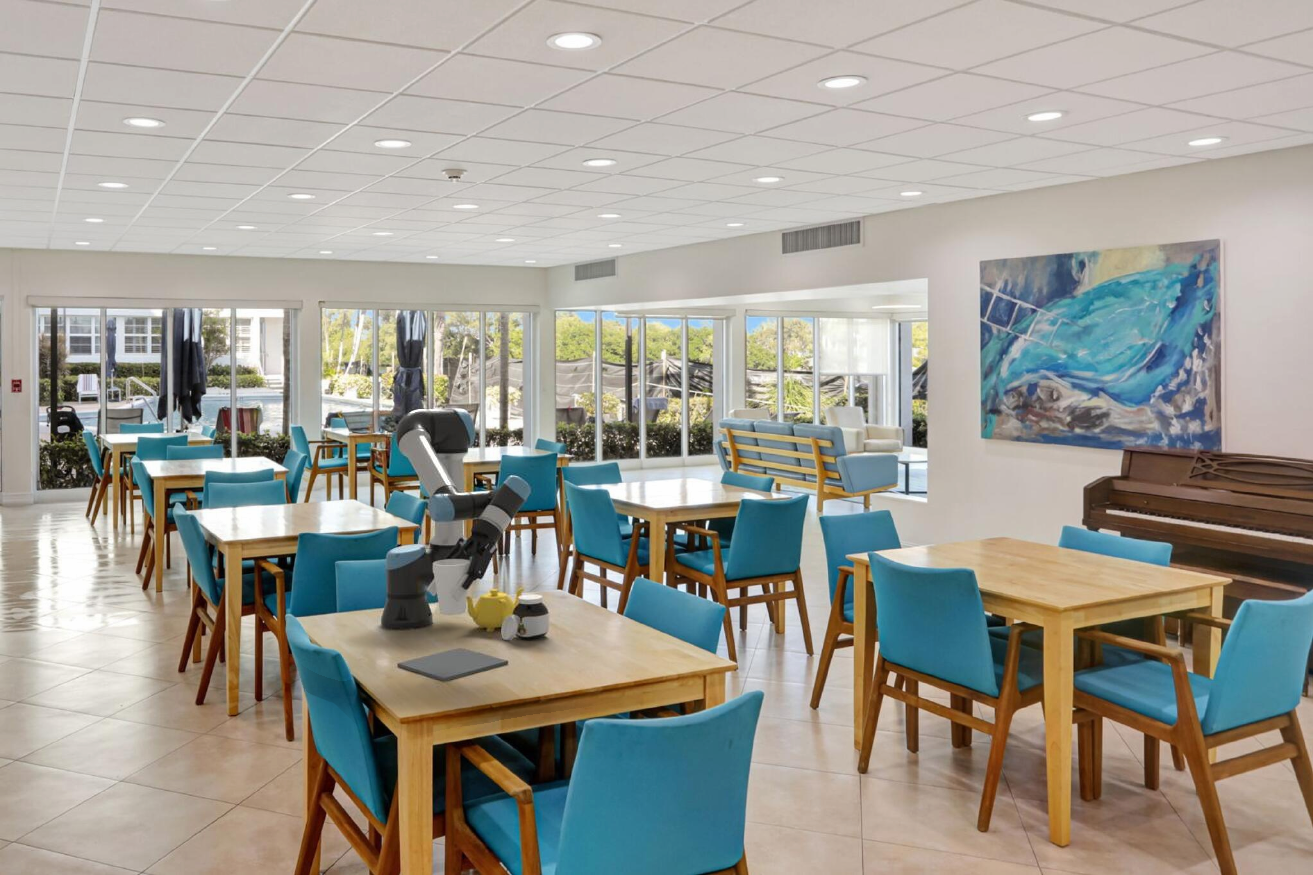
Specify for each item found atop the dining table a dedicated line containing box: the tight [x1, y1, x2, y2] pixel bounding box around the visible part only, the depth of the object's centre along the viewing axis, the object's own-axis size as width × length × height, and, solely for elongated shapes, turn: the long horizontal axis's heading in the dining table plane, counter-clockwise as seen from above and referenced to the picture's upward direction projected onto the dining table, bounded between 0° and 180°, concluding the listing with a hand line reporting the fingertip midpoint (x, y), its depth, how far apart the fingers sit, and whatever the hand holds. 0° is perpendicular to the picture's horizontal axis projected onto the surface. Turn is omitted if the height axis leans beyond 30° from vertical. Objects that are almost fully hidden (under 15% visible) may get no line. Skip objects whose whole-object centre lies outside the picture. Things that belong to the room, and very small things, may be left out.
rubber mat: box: [397, 647, 509, 682], centre depth 264 cm, size 20×20×1 cm
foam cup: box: [433, 559, 470, 616], centre depth 263 cm, size 10×9×13 cm
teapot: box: [466, 586, 526, 633], centre depth 302 cm, size 20×15×12 cm
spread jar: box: [500, 594, 550, 641], centre depth 291 cm, size 12×11×12 cm
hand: (442, 595), depth 261 cm, fingers closed on foam cup, 9 cm apart
